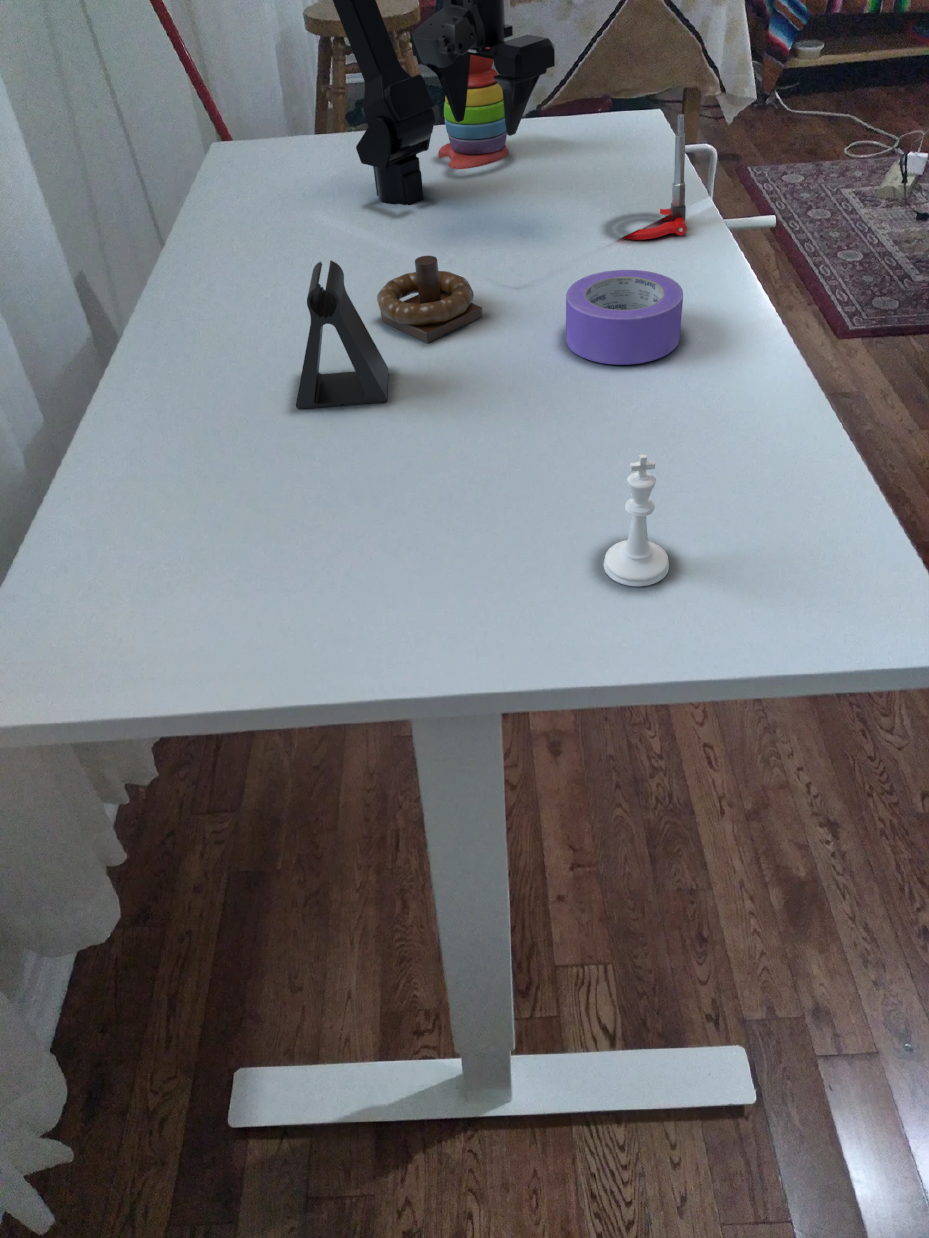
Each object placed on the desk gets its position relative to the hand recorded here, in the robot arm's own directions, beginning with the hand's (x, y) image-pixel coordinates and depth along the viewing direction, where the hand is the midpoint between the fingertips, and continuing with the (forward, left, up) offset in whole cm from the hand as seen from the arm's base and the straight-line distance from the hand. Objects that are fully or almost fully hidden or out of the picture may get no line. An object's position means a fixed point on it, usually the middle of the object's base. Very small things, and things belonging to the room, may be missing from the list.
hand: (485, 128), depth 117 cm
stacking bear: (-20, +16, -12) cm, 28 cm away
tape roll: (+33, -12, -12) cm, 37 cm away
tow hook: (+16, +12, -12) cm, 23 cm away
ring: (+13, -22, -10) cm, 27 cm away
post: (+14, -22, -12) cm, 29 cm away
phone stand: (+19, -38, -12) cm, 44 cm away
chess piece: (+58, -39, -12) cm, 71 cm away
